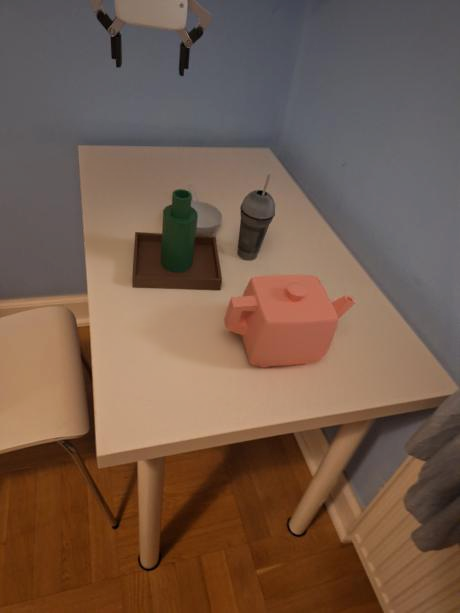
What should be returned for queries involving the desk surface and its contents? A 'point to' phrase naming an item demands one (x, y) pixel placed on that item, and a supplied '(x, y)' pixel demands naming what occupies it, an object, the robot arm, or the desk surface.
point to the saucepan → (205, 215)
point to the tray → (156, 276)
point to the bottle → (178, 233)
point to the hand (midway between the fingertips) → (150, 69)
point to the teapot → (285, 319)
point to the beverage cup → (255, 222)
